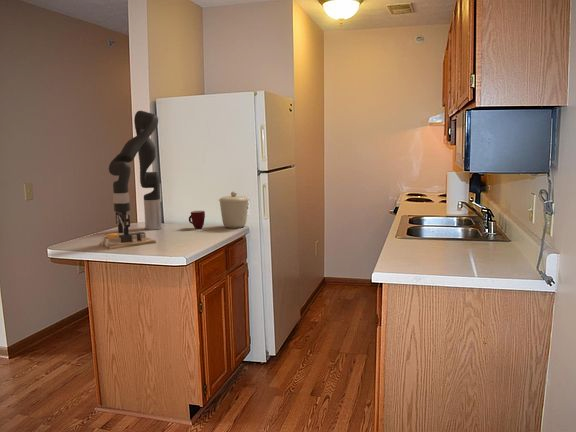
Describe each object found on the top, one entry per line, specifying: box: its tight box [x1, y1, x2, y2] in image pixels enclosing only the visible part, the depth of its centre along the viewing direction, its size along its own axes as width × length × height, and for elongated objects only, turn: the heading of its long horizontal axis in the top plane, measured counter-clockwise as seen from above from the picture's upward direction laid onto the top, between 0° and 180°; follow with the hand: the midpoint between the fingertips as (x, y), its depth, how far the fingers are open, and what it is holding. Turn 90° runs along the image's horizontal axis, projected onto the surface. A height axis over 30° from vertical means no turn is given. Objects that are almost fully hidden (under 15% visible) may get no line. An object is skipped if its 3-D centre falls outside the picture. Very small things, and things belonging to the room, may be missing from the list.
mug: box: [188, 210, 206, 230], centre depth 295 cm, size 10×8×10 cm
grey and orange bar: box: [106, 231, 146, 243], centre depth 253 cm, size 18×5×5 cm, turn 127°
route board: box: [99, 231, 157, 250], centre depth 253 cm, size 16×23×4 cm
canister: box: [218, 191, 250, 229], centre depth 298 cm, size 18×18×21 cm
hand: (123, 234), depth 252 cm, fingers open, 8 cm apart
